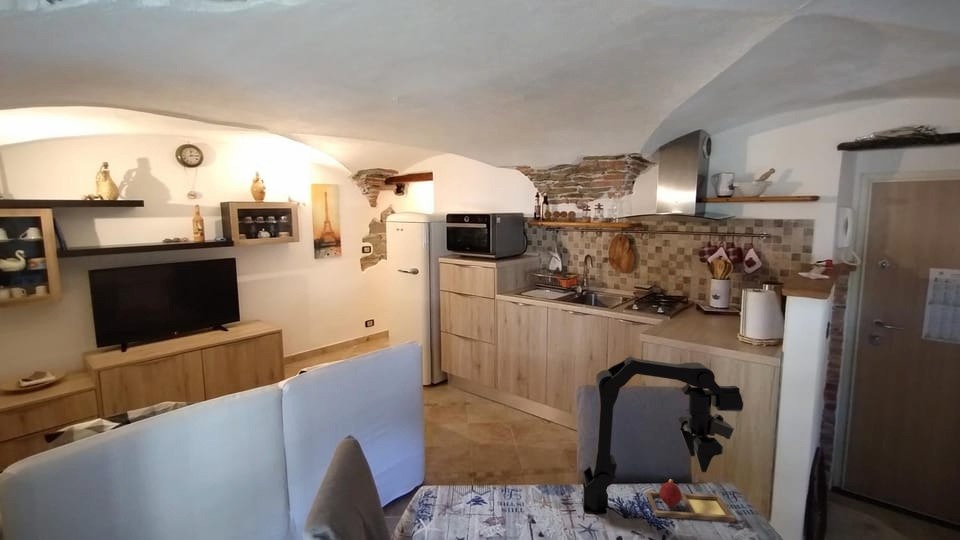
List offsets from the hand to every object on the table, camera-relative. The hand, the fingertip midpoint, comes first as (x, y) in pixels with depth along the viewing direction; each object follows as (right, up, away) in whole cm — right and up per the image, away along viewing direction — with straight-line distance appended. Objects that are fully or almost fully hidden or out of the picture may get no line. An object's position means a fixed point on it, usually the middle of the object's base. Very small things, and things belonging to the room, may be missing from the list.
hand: (697, 463), depth 128 cm
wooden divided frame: (-1, -14, +4) cm, 15 cm away
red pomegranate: (-6, -15, +5) cm, 16 cm away
